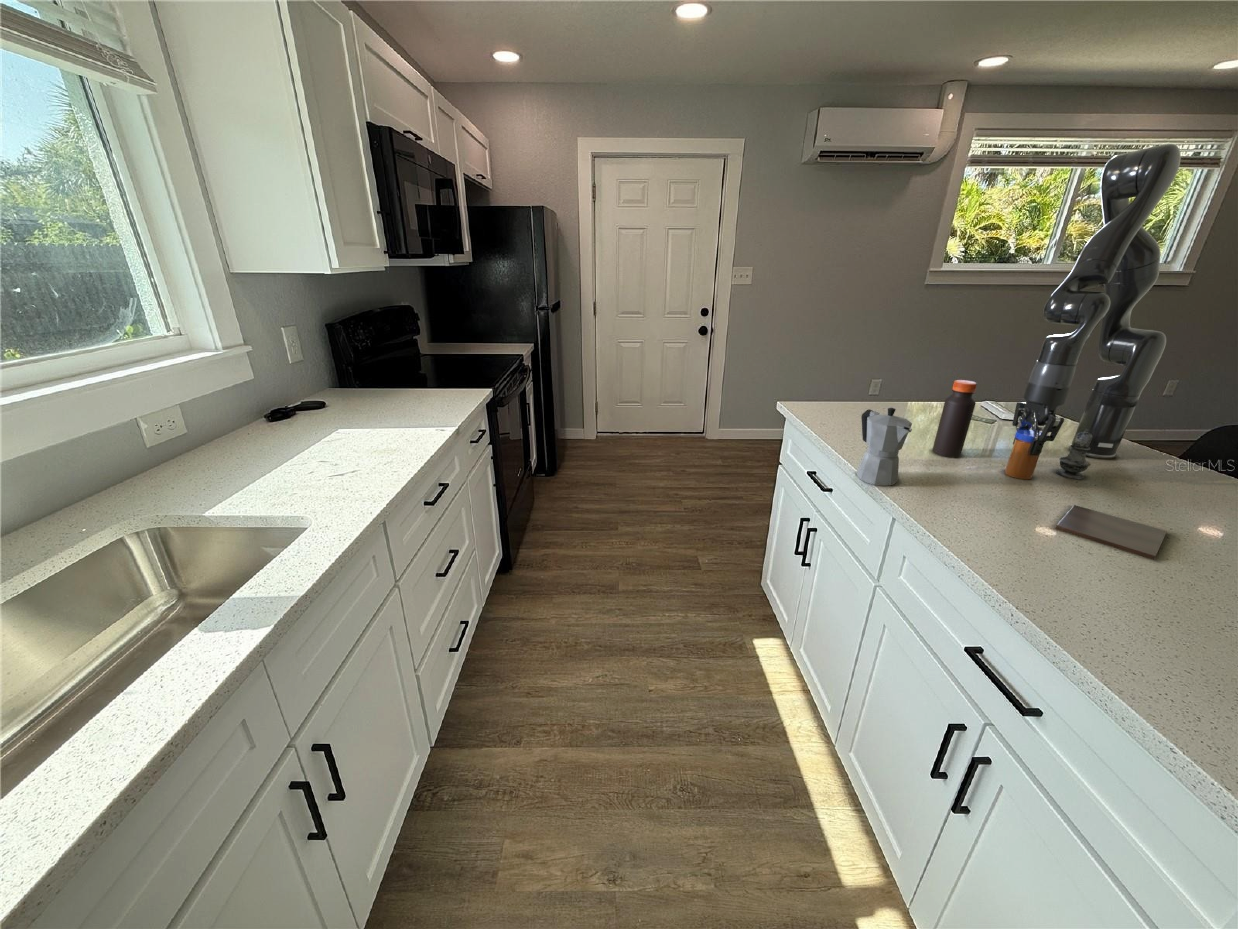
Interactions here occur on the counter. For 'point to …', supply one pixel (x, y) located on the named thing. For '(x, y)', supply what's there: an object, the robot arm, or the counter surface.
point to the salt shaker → (1076, 457)
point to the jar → (1021, 461)
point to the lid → (1025, 435)
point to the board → (1113, 531)
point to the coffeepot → (882, 446)
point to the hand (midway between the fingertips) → (1025, 450)
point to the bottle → (955, 420)
